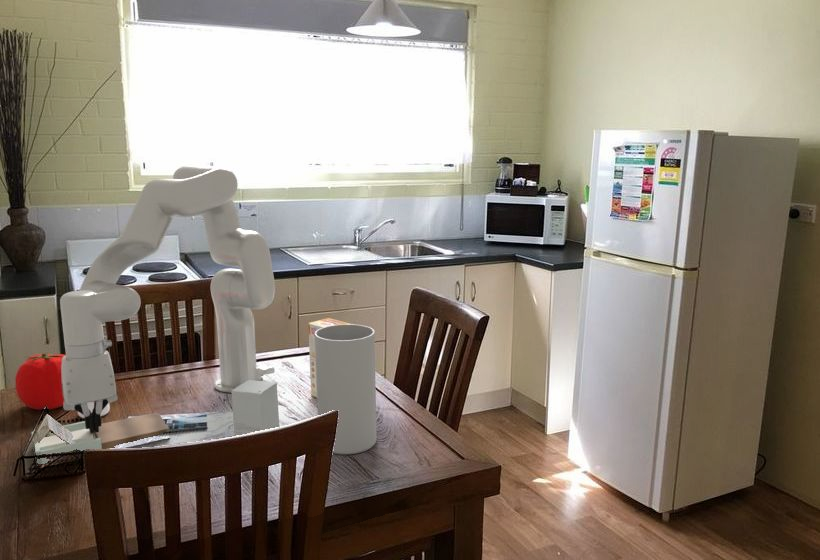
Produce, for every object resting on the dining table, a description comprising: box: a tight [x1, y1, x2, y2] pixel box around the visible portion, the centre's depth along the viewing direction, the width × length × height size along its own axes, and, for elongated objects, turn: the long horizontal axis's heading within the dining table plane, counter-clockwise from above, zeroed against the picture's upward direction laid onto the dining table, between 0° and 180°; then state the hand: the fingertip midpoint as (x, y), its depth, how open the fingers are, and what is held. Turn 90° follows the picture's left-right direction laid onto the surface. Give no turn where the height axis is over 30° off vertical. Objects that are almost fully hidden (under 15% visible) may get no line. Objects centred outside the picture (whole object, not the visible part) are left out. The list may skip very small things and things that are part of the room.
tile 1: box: [39, 435, 67, 451], centre depth 147 cm, size 5×5×2 cm
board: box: [94, 412, 170, 449], centre depth 155 cm, size 14×11×2 cm
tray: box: [31, 420, 102, 464], centre depth 148 cm, size 12×12×4 cm
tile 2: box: [71, 429, 94, 443], centre depth 150 cm, size 5×5×2 cm
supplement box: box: [231, 380, 280, 437], centre depth 152 cm, size 7×7×13 cm
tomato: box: [14, 352, 66, 411], centre depth 173 cm, size 16×14×14 cm
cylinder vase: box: [315, 323, 378, 455], centre depth 149 cm, size 12×12×25 cm
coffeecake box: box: [307, 317, 350, 398], centre depth 175 cm, size 15×7×20 cm, turn 47°
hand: (93, 430), depth 151 cm, fingers closed
